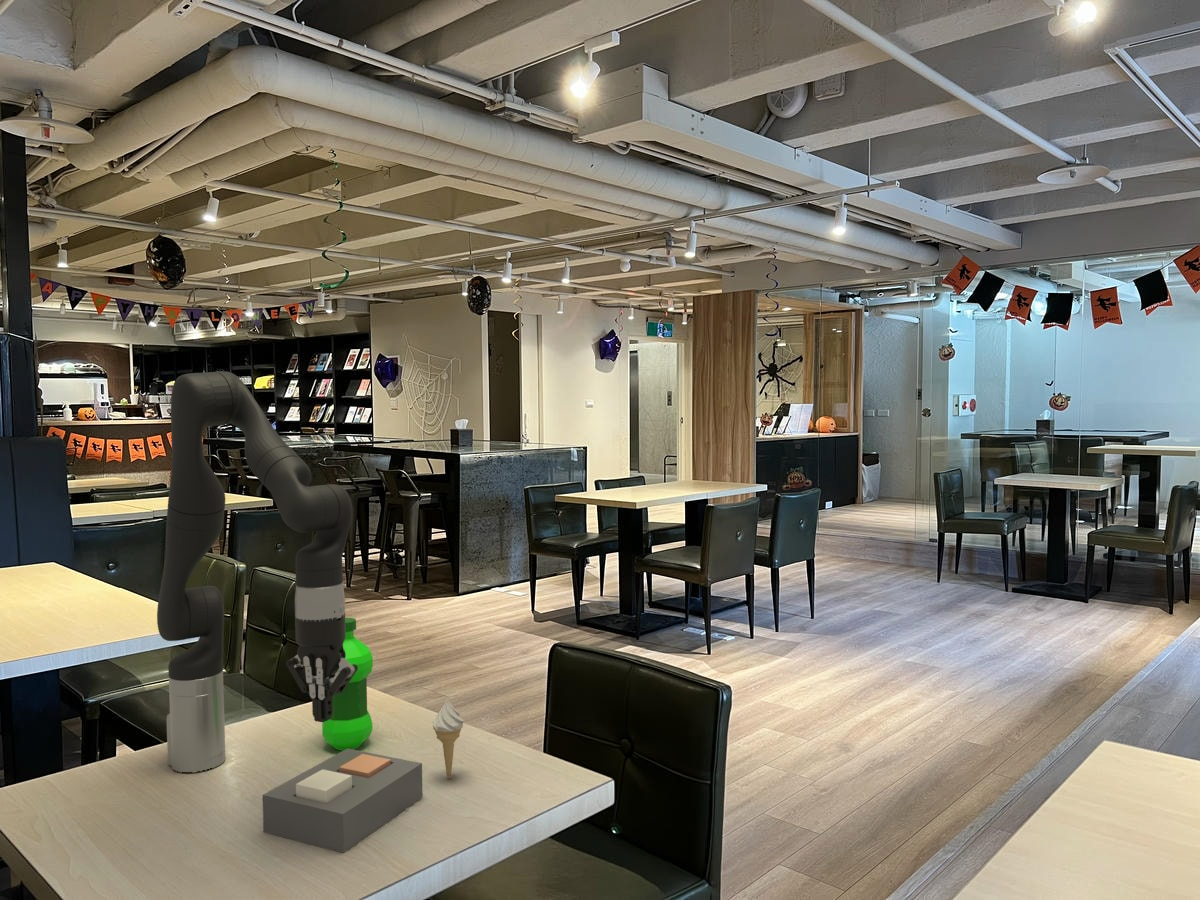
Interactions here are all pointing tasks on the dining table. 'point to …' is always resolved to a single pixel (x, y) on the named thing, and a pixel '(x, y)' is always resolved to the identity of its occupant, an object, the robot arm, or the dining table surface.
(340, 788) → the white key
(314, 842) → the block
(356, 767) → the terracotta key
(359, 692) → the plastic bottle
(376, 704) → the dining table surface
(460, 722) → the ice cream cone
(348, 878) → the dining table surface
